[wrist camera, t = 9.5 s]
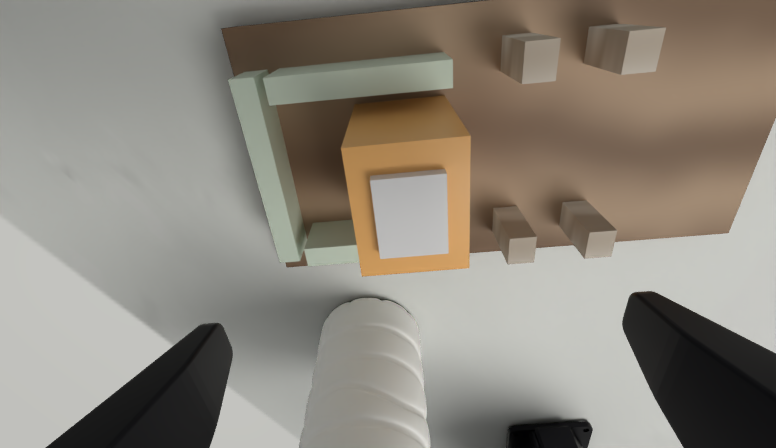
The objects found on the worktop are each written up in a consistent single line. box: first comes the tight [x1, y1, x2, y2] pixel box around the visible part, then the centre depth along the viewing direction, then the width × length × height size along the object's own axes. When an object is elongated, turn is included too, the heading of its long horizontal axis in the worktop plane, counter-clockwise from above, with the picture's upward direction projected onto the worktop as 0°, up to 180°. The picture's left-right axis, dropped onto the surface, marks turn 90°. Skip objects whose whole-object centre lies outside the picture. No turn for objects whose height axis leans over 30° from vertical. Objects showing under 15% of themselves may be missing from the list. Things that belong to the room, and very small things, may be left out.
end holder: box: [228, 52, 453, 266], centre depth 17 cm, size 9×8×2 cm
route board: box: [221, 0, 776, 267], centre depth 17 cm, size 12×24×4 cm, turn 95°
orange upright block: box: [341, 95, 471, 276], centre depth 15 cm, size 5×4×6 cm
